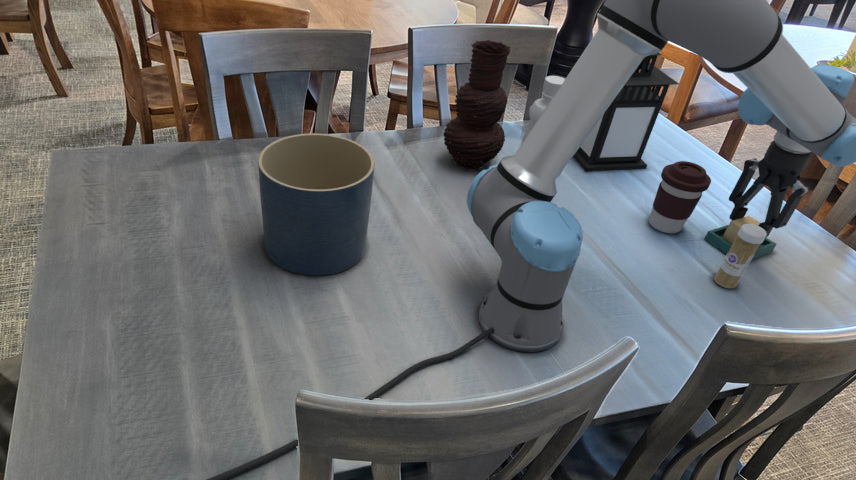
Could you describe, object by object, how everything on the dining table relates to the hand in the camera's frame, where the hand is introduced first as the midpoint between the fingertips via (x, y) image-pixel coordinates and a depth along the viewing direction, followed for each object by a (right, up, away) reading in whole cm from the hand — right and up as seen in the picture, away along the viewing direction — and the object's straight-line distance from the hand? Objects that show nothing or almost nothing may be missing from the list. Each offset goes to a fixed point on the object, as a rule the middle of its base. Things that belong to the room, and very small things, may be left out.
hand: (740, 240), depth 140 cm
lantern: (-19, +25, +31) cm, 45 cm away
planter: (-94, -2, -7) cm, 95 cm away
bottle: (-45, +10, +11) cm, 48 cm away
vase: (-56, +22, +24) cm, 65 cm away
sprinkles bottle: (-9, -10, -9) cm, 16 cm away
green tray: (0, -1, +1) cm, 2 cm away
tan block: (0, 0, 0) cm, 0 cm away
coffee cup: (-14, +4, +6) cm, 16 cm away
